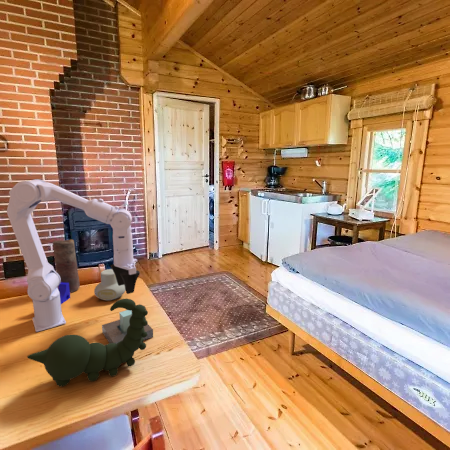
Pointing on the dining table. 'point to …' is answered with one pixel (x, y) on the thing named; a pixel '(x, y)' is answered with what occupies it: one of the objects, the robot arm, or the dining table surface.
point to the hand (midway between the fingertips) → (125, 288)
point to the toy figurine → (94, 350)
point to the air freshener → (109, 286)
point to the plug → (125, 320)
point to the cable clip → (64, 292)
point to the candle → (66, 263)
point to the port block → (115, 335)
